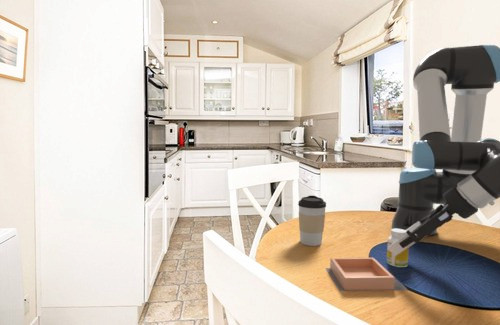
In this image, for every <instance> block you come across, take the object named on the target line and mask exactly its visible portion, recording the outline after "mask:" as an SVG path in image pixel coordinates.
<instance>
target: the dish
mask: <svg viewBox="0 0 500 325" xmlns="http://www.w3.org/2000/svg"><path fill="white" fill-rule="evenodd" d="M329 268H330V269H331V271H332V272H333V274H334V275H335V276H336V278H337V279H338V281H339V282H340V284H341V285H342V287H343V288H344V290H363V291H395V290H394V281H395V278H396V277H395V276H394V275H393V274H392V273H391V272H390V273H391V274H390V273H389V271H388V270H387V268H386V267H385V266H383V265H382V264H381V263H380V262H379V261H378V260H377V259H375V257H330V264H329Z"/></svg>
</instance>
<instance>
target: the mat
mask: <svg viewBox="0 0 500 325" xmlns="http://www.w3.org/2000/svg"><path fill="white" fill-rule="evenodd" d="M325 270H326V271H327V274H328V275H329V276H330V278H331V280H332V281H333V282H334V284H335V285H336V286H335V287H337V289H338V290H339V291H342V292H344V291H345V292H346V291H347V292H349V291H350V292H351V291H352V292H353V291H358V292H359V291H364V290H344V288H343V287H342V285H341V284H340V282H339V281H338V279H337V278H336V276H335V275H334V274H333V272H332V271H331V269H330V267H325ZM388 272H389V271H388ZM389 273H390V274H392V273H391V272H389ZM408 290H409V289H408V288H407V287H405V285H403V283H401V281H399V280H398V279H397V278H396V277H395V281H394V290H393V291H408Z"/></svg>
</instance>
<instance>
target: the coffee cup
mask: <svg viewBox="0 0 500 325" xmlns="http://www.w3.org/2000/svg"><path fill="white" fill-rule="evenodd" d="M297 205H298V227H299V238H300V239H299V242H300V243H301V244H302V245H304V246H311V247H312V246H313V247H316V246H320V245H322V242H323V232H324V229H325V220H326V207H327V201H324V198H322V197H318V196H316V195H308V196H304V197H301V199H300V200H299V201H298V204H297Z"/></svg>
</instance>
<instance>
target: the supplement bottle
mask: <svg viewBox="0 0 500 325" xmlns="http://www.w3.org/2000/svg"><path fill="white" fill-rule="evenodd" d="M406 234H407V233H406V230H403V229H397V228H394V229H393V228H391V229H390V236H389V237H388V238H387V246H386V247H387V248H386V263H387V264H388V265H390V266H393V267H395V268H406V267H408V265H409V253H410V252H409V251H410V249H409V248H410V247H408V248H407V249H405V250H404V251H402V252H401V253H399V254H398V255H396V256H394V255H393V253H392V252H391V251H390V250H389V249H388V246H390V245H391V244H393V243H394V242H396V241H397V240H399V239H400V238H402V237H403V236H405V235H406Z"/></svg>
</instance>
